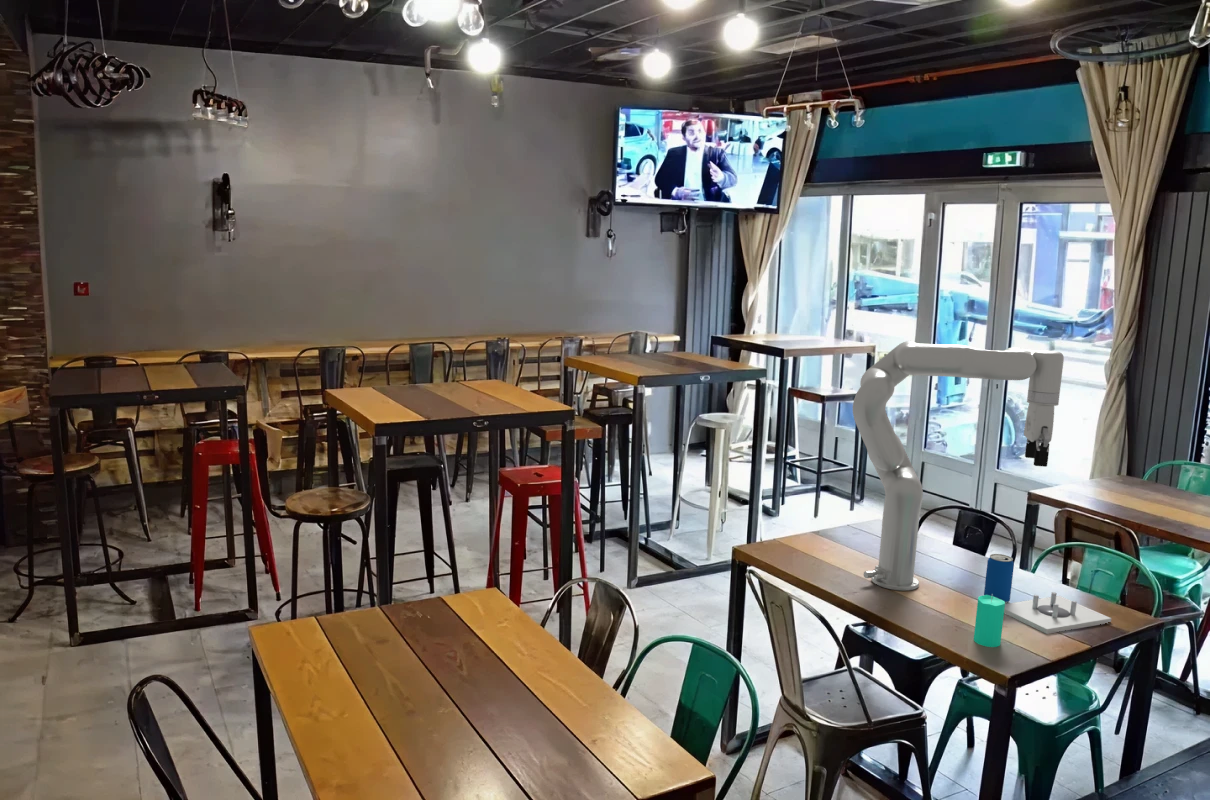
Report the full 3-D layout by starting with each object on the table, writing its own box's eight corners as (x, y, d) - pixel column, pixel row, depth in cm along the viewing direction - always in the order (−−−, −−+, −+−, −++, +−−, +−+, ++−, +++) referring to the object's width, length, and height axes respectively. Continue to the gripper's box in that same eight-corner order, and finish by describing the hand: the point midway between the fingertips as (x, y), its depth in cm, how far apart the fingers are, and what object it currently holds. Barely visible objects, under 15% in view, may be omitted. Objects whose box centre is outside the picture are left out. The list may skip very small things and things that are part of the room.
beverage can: (1013, 605, 248) (1018, 562, 246) (988, 604, 248) (993, 560, 246) (1003, 596, 254) (1008, 553, 252) (979, 595, 254) (984, 552, 252)
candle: (969, 636, 227) (974, 588, 225) (994, 637, 227) (1000, 589, 225) (978, 646, 221) (984, 598, 219) (1004, 647, 221) (1010, 599, 219)
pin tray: (1046, 633, 230) (1048, 615, 229) (996, 609, 245) (998, 592, 244) (1110, 622, 239) (1113, 605, 238) (1058, 599, 253) (1060, 583, 252)
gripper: (1020, 392, 255) (1013, 453, 258) (1035, 402, 238) (1028, 468, 241) (1050, 393, 254) (1042, 456, 256) (1067, 404, 237) (1059, 470, 240)
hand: (1035, 461), depth 249 cm, fingers open, 9 cm apart
